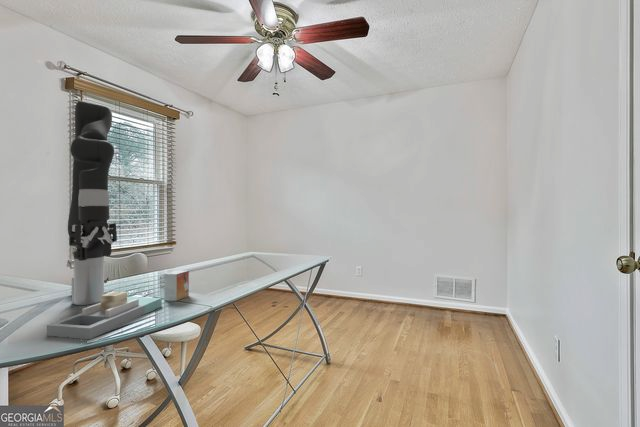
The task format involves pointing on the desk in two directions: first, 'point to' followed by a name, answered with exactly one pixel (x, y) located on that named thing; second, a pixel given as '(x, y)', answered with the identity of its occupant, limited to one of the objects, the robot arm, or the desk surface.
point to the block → (113, 299)
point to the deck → (102, 318)
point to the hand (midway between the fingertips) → (95, 258)
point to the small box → (176, 285)
